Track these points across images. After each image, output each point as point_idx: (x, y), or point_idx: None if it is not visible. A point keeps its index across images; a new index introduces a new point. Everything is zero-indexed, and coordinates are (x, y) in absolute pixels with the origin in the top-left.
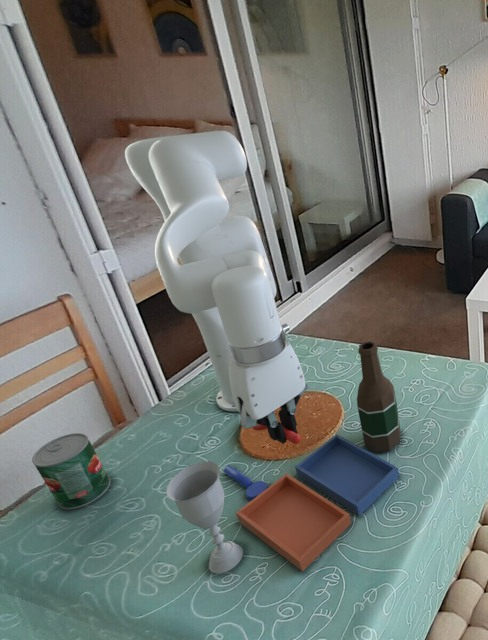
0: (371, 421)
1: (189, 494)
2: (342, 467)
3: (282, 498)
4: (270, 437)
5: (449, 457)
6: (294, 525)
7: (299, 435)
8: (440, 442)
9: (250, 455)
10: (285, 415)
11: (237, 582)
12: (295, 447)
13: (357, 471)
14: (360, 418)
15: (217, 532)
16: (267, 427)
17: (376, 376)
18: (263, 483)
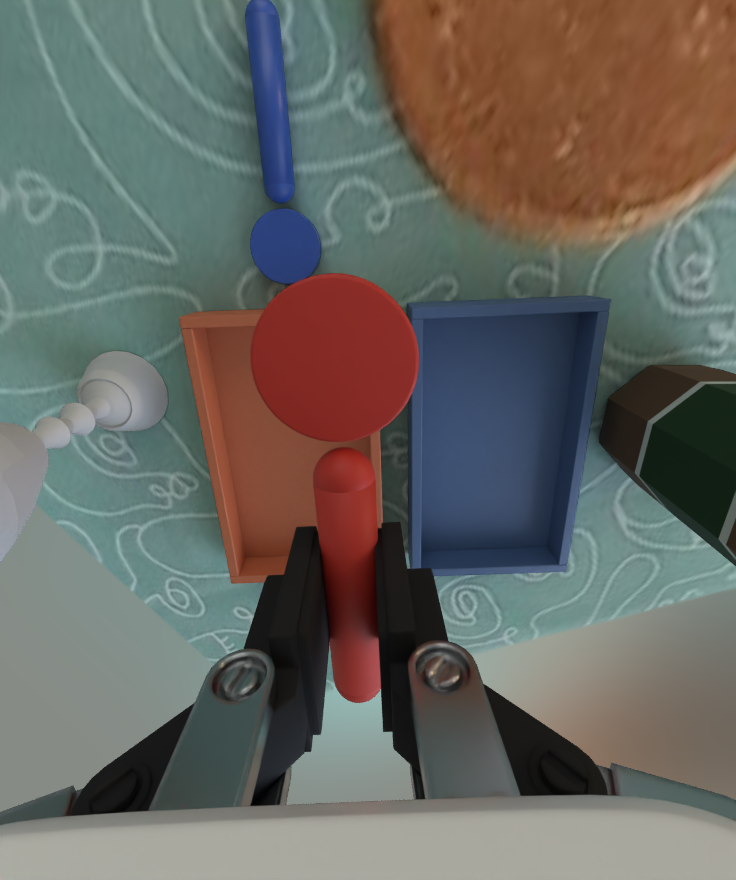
0: (690, 518)
1: None
2: (503, 407)
3: None
4: (267, 577)
5: (661, 601)
6: (291, 461)
7: (379, 689)
8: (705, 555)
9: (371, 8)
10: (391, 699)
11: (126, 471)
12: (498, 158)
13: (512, 457)
14: (695, 455)
15: (57, 447)
16: (248, 643)
17: None
18: (312, 247)
